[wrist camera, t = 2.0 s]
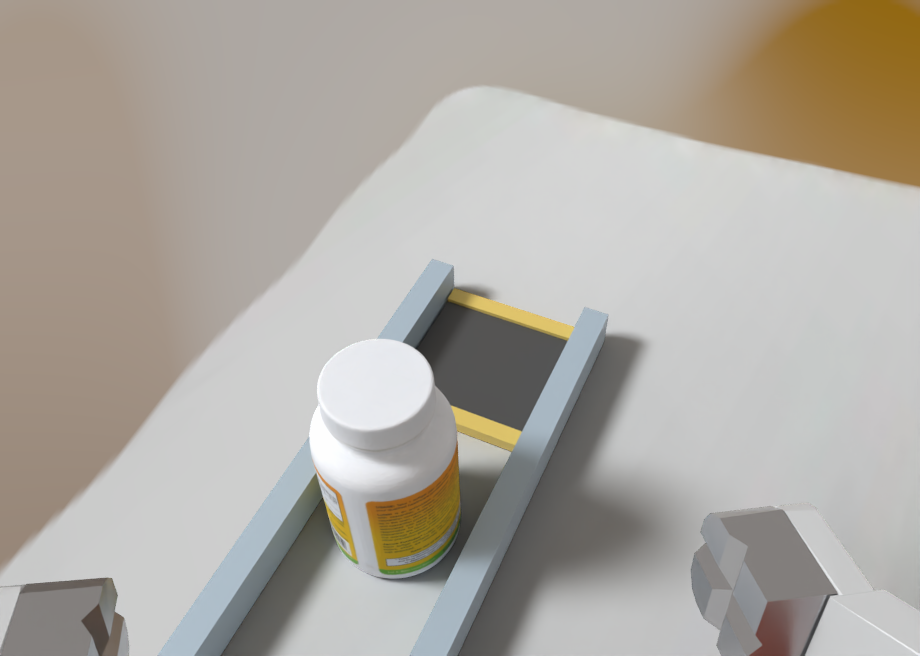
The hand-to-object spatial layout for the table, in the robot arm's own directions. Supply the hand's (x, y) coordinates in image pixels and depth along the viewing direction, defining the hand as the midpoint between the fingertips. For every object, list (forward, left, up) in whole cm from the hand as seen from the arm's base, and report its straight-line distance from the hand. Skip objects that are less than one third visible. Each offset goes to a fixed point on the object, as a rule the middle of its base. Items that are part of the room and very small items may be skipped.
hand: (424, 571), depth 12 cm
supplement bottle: (-10, -8, -22) cm, 25 cm away
